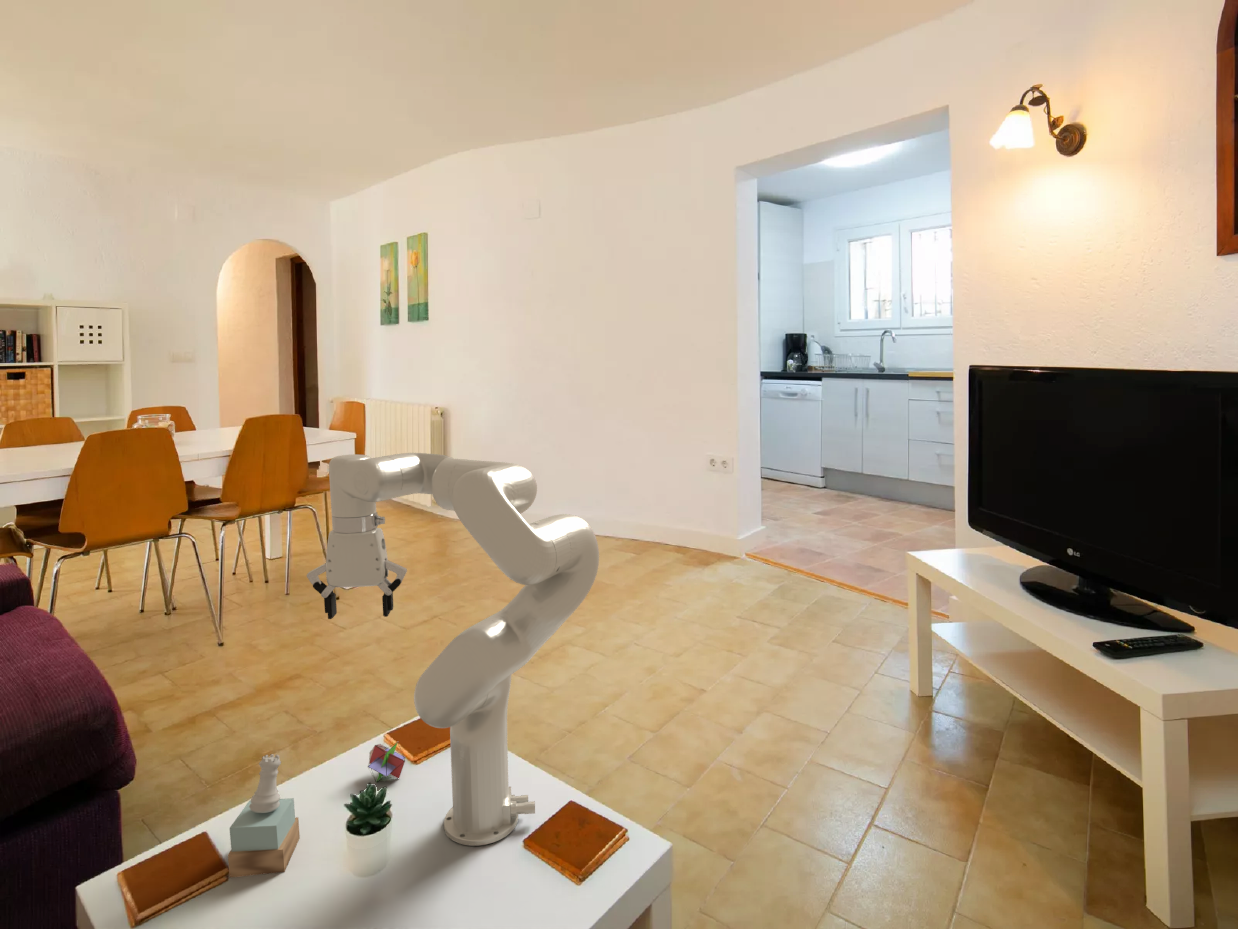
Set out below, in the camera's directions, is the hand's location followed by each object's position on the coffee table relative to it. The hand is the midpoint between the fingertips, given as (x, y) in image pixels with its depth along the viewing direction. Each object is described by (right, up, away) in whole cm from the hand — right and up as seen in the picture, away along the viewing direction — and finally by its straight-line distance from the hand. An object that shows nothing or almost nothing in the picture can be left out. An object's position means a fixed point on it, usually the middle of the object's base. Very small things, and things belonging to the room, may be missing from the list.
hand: (359, 615), depth 127 cm
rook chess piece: (-9, -28, -16) cm, 33 cm away
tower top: (-10, -32, -16) cm, 37 cm away
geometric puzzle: (+3, -33, +7) cm, 34 cm away
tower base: (-10, -36, -15) cm, 40 cm away
